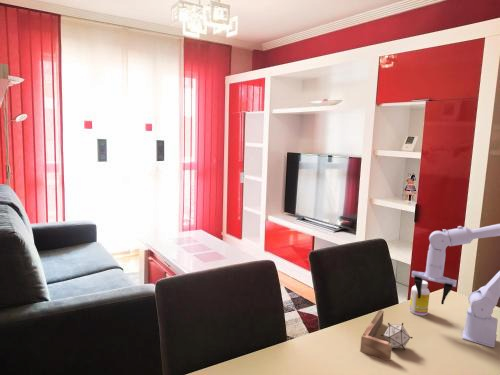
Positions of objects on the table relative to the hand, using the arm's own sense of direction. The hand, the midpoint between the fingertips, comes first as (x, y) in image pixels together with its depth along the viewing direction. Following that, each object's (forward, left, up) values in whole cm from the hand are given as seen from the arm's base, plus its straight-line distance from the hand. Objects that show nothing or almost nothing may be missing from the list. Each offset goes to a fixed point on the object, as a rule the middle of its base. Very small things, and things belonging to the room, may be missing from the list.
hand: (430, 300), depth 136 cm
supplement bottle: (+5, -11, -11) cm, 16 cm away
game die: (+7, +22, -11) cm, 26 cm away
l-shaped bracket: (+11, +20, -10) cm, 25 cm away
